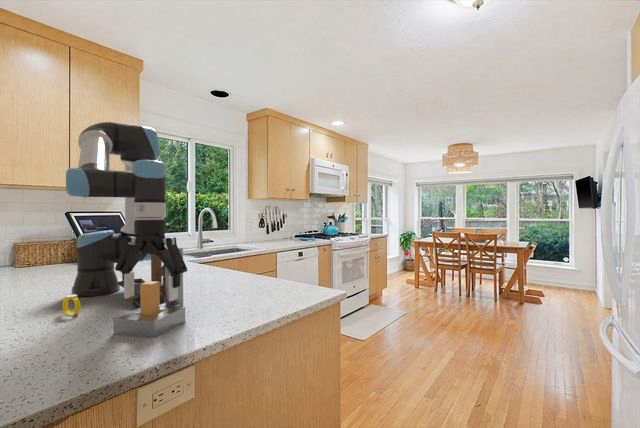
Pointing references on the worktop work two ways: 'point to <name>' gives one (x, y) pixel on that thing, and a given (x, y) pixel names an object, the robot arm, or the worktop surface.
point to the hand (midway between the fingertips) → (151, 298)
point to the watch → (76, 302)
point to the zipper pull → (136, 301)
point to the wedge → (150, 298)
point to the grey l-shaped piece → (159, 323)
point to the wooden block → (158, 272)
